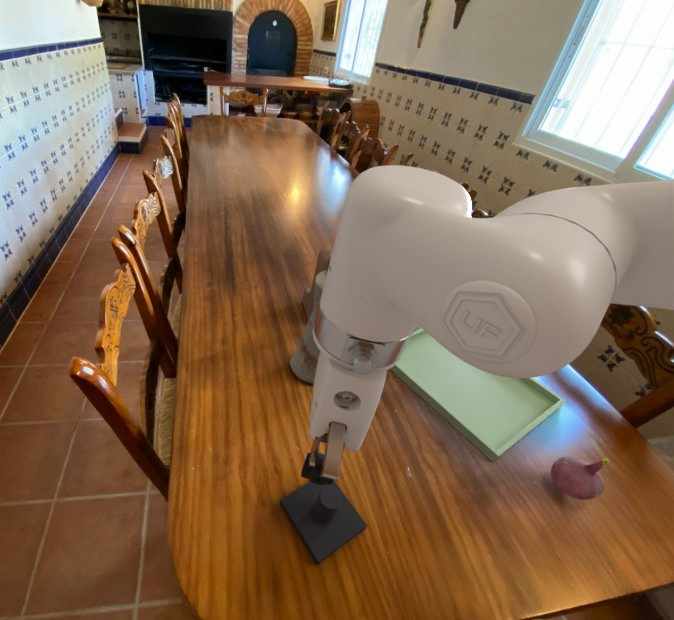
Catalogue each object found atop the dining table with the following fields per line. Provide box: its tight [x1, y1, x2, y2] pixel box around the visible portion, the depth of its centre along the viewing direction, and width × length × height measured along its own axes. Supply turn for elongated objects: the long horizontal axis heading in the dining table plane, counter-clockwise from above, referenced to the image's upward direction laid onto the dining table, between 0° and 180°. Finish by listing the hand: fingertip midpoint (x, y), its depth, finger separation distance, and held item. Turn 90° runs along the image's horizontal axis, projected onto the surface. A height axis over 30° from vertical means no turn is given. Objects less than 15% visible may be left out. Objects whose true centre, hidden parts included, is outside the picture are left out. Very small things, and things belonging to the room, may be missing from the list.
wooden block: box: [301, 249, 333, 322], centre depth 82 cm, size 9×4×18 cm, turn 5°
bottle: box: [289, 252, 332, 386], centre depth 65 cm, size 9×9×28 cm
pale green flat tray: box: [389, 327, 567, 463], centre depth 74 cm, size 28×24×2 cm
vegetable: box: [550, 456, 610, 501], centre depth 55 cm, size 6×6×10 cm
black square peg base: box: [279, 480, 368, 566], centre depth 50 cm, size 9×9×6 cm
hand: (320, 437), depth 41 cm, fingers open, 9 cm apart
